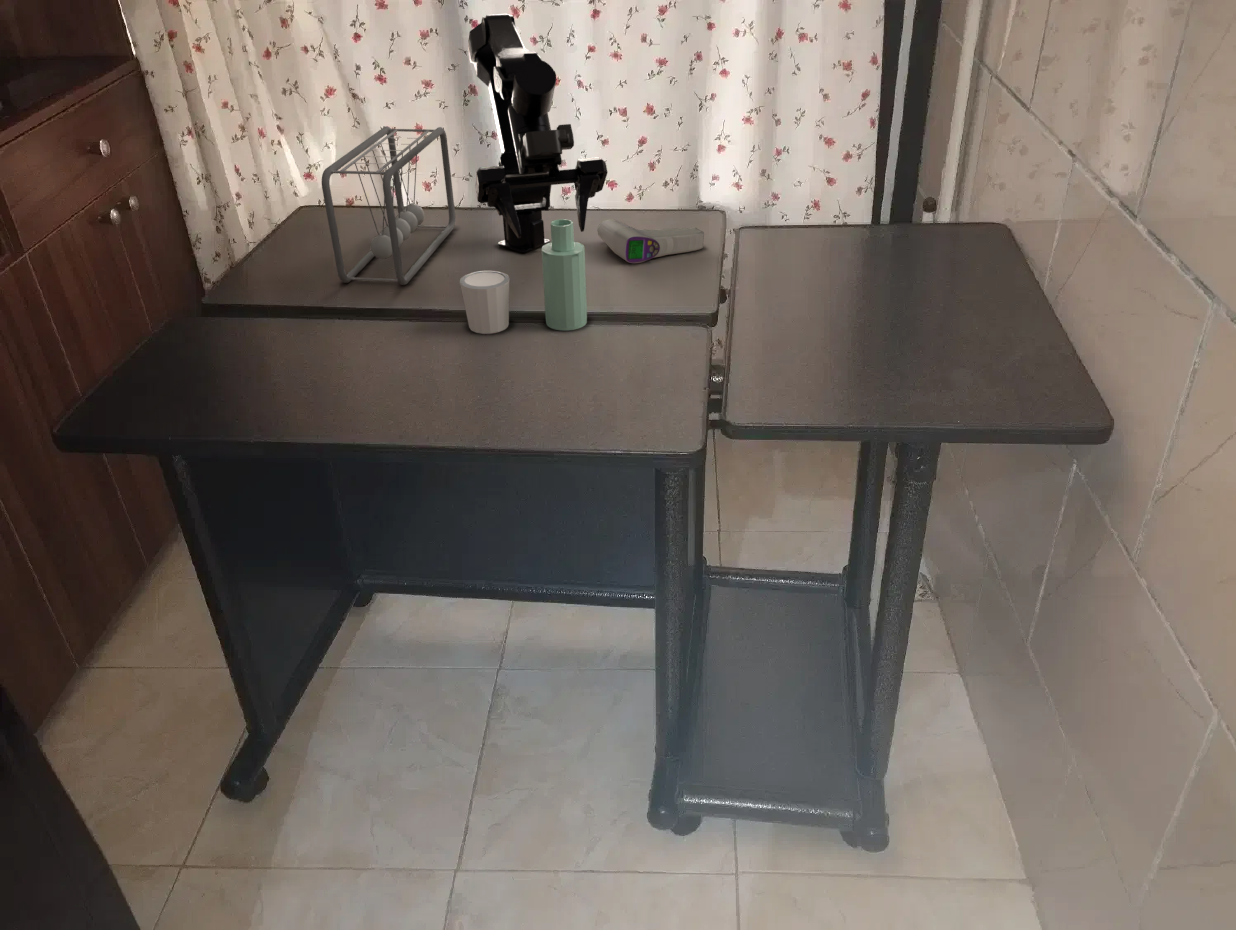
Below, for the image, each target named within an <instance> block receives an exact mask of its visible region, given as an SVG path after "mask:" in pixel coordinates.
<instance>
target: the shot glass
mask: <svg viewBox="0 0 1236 930" xmlns="http://www.w3.org/2000/svg"><path fill="white" fill-rule="evenodd" d="M459 285H460V291H461V294H462V295H461V296H462V300H463V305H464V309H465V314H466V319H467V325H468V328H469V329H470V331H471V332H474V333H477V334H483V335H485V334H486V335H492V334H496V333H500V332H503V331H505V330H506V329H508V328H509V325H510V276H509V275H508V274H507V273H505V272H502V271H497V270H479V271H474V272H473V271H472V272H470V273H468V274H465V275H463V276H462V277H460V280H459Z"/></svg>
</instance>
